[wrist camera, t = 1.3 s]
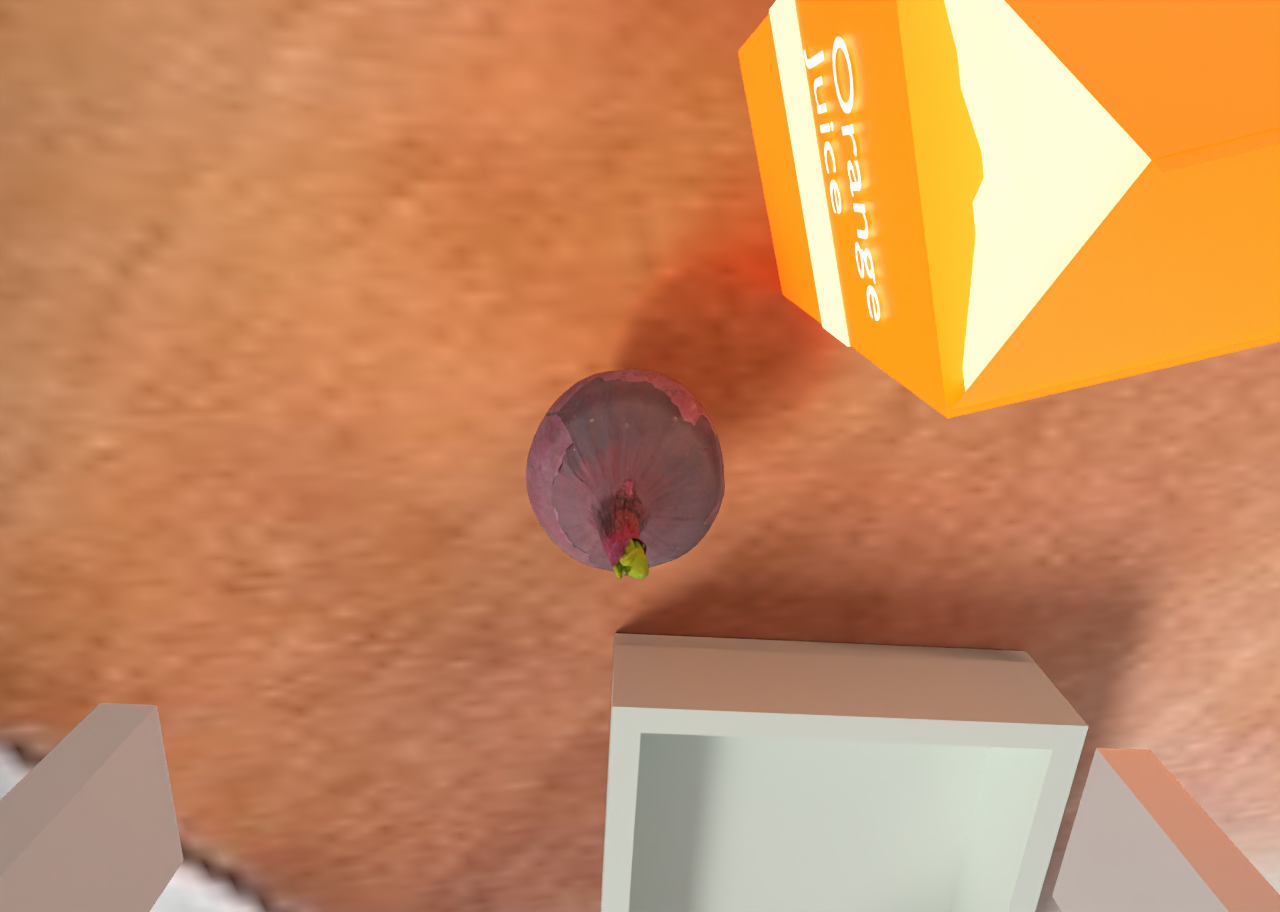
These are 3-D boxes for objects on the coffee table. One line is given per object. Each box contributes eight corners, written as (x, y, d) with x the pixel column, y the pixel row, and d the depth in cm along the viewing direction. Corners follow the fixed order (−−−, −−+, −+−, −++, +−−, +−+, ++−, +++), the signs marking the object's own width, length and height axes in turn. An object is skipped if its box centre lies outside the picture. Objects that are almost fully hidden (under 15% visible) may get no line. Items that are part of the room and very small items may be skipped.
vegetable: (580, 538, 29) (555, 709, 20) (509, 386, 27) (444, 495, 18) (736, 479, 28) (788, 628, 19) (674, 320, 27) (697, 397, 17)
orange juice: (1047, 233, 26) (2191, 379, 7) (780, 299, 26) (1156, 597, 8) (1028, -35, 23) (2738, -964, 4) (733, 44, 24) (1122, -472, 5)
